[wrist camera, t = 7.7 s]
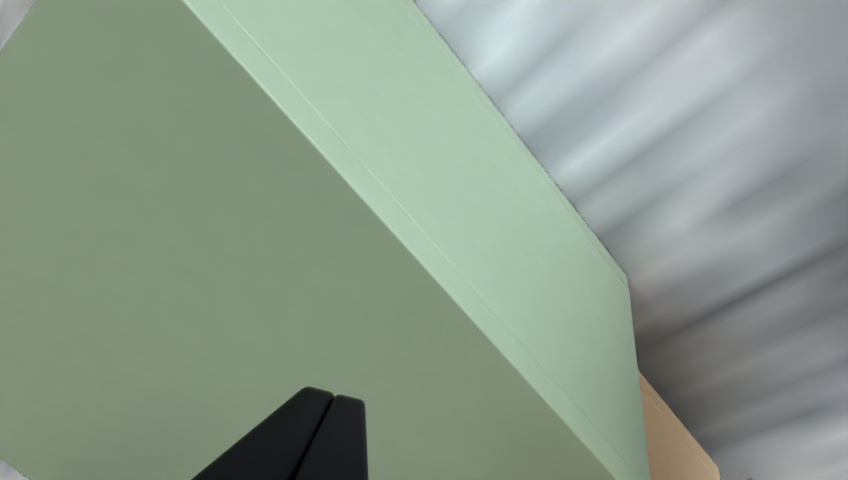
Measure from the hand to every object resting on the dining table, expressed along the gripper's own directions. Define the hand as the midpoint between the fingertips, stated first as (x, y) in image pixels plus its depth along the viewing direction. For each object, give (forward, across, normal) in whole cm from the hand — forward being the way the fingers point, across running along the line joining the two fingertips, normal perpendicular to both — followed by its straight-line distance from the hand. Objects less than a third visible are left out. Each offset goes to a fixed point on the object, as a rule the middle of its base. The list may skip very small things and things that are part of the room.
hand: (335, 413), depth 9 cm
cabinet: (+11, +4, +4) cm, 12 cm away
